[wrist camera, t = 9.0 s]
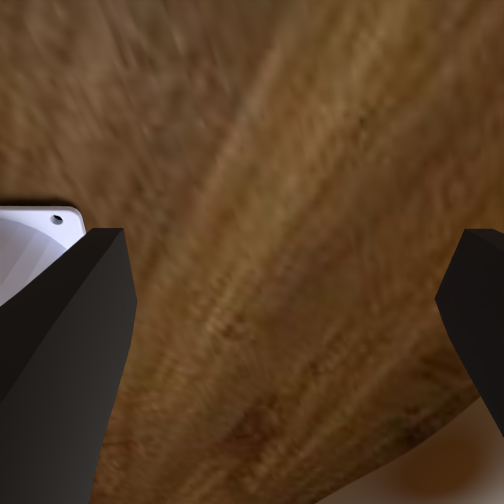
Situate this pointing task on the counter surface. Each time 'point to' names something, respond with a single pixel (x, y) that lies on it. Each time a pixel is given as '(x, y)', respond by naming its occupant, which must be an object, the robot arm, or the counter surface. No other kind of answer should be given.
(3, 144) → the counter surface
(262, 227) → the counter surface
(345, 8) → the counter surface
